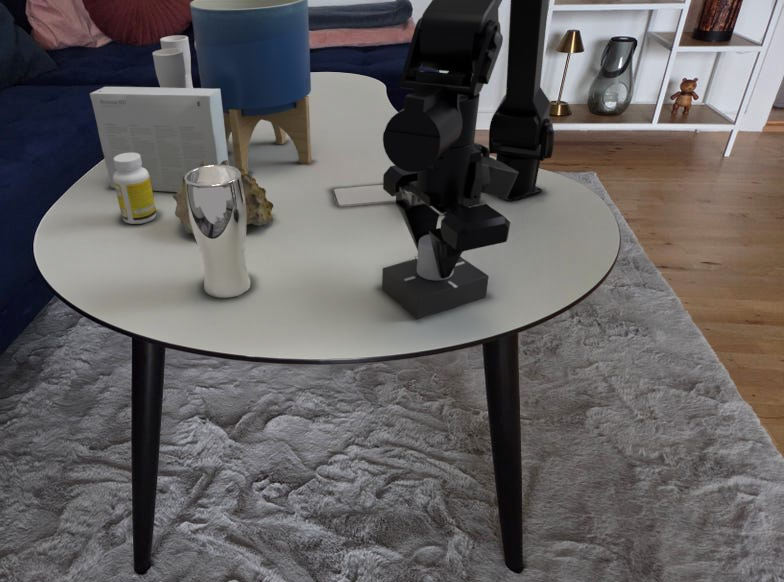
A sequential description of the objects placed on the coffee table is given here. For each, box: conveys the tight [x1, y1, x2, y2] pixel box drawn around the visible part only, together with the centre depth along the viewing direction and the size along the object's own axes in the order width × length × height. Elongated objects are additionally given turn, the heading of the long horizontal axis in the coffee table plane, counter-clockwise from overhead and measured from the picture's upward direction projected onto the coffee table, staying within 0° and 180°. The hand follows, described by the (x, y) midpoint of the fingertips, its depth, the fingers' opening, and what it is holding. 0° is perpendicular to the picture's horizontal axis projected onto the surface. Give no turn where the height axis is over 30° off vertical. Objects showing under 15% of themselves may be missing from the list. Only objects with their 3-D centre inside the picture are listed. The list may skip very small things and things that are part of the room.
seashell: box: [172, 159, 274, 235], centre depth 94 cm, size 11×14×10 cm
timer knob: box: [417, 234, 454, 281], centre depth 76 cm, size 4×4×4 cm
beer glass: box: [184, 164, 252, 299], centre depth 78 cm, size 7×7×15 cm
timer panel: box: [381, 255, 490, 320], centre depth 78 cm, size 10×9×3 cm
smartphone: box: [331, 183, 396, 208], centre depth 104 cm, size 7×1×15 cm
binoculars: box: [152, 34, 194, 88], centre depth 123 cm, size 17×5×18 cm, turn 4°
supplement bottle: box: [113, 153, 157, 225], centre depth 98 cm, size 5×5×10 cm
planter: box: [189, 0, 312, 174], centre depth 111 cm, size 19×19×26 cm
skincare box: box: [89, 86, 230, 193], centre depth 106 cm, size 21×5×16 cm, turn 75°
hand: (435, 268), depth 77 cm, fingers closed on timer knob, 4 cm apart
